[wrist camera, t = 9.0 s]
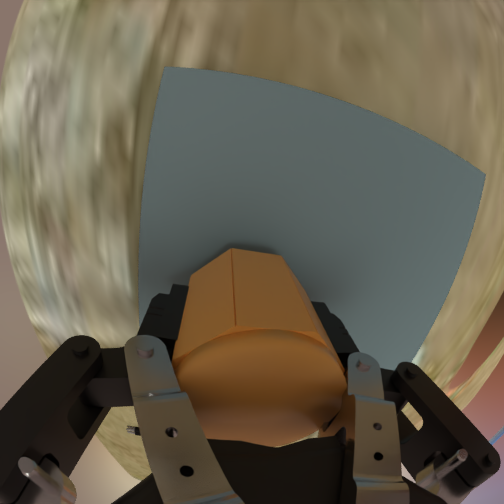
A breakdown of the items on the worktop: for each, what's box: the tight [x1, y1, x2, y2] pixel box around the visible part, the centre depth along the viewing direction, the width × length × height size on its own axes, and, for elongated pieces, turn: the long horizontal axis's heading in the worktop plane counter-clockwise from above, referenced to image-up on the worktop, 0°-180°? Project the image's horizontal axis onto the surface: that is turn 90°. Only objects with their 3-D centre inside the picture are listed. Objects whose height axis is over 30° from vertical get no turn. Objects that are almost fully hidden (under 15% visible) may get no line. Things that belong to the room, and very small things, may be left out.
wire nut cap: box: [172, 248, 347, 447], centre depth 10 cm, size 5×5×6 cm
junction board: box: [138, 67, 486, 370], centre depth 15 cm, size 20×18×2 cm
